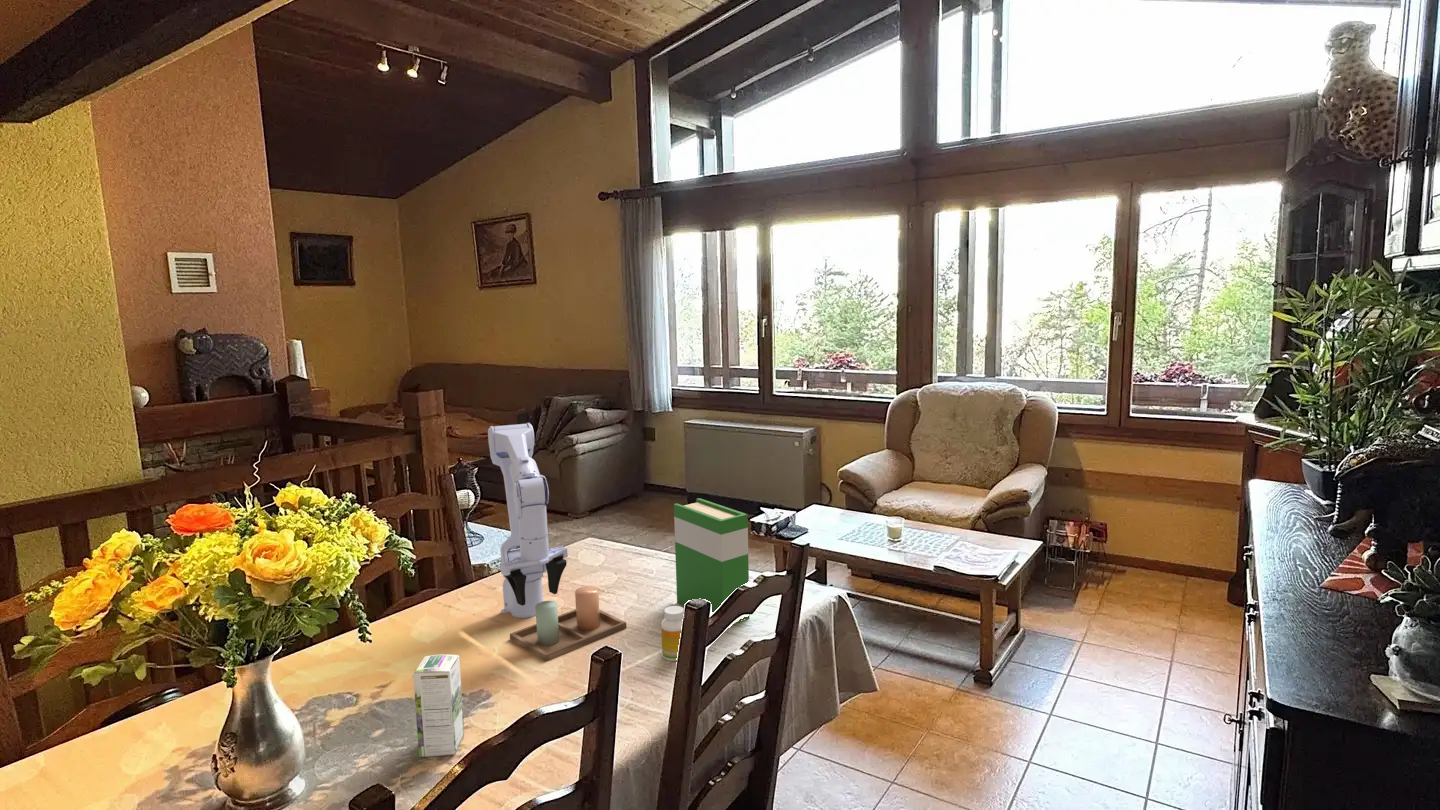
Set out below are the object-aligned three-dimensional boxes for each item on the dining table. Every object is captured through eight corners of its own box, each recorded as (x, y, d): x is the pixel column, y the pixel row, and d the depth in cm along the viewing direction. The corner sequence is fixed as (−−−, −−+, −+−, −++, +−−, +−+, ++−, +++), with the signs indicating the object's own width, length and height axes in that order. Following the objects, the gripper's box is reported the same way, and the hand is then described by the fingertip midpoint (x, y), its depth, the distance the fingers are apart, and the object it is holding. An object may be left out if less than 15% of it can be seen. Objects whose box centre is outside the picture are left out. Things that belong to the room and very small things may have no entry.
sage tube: (533, 641, 154) (531, 605, 153) (552, 634, 157) (549, 598, 156) (545, 648, 151) (542, 611, 150) (563, 641, 154) (561, 604, 153)
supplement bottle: (685, 663, 146) (683, 616, 144) (659, 661, 147) (657, 614, 145) (691, 650, 151) (690, 604, 149) (666, 648, 152) (664, 603, 150)
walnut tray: (510, 642, 156) (509, 633, 156) (589, 612, 170) (588, 604, 170) (546, 664, 146) (545, 655, 146) (626, 631, 160) (626, 622, 160)
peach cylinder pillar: (572, 625, 161) (570, 591, 160) (591, 618, 165) (589, 584, 164) (585, 632, 158) (583, 597, 157) (604, 625, 161) (603, 590, 160)
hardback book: (677, 602, 174) (673, 504, 171) (702, 594, 179) (699, 498, 175) (723, 627, 160) (720, 521, 157) (749, 618, 165) (747, 514, 161)
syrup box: (429, 737, 123) (422, 655, 121) (465, 734, 123) (459, 652, 121) (418, 758, 117) (410, 672, 115) (456, 755, 118) (449, 670, 116)
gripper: (511, 549, 144) (516, 614, 146) (574, 531, 154) (577, 592, 156) (493, 541, 149) (498, 604, 151) (555, 524, 159) (559, 584, 161)
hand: (537, 598), depth 154 cm, fingers open, 7 cm apart
